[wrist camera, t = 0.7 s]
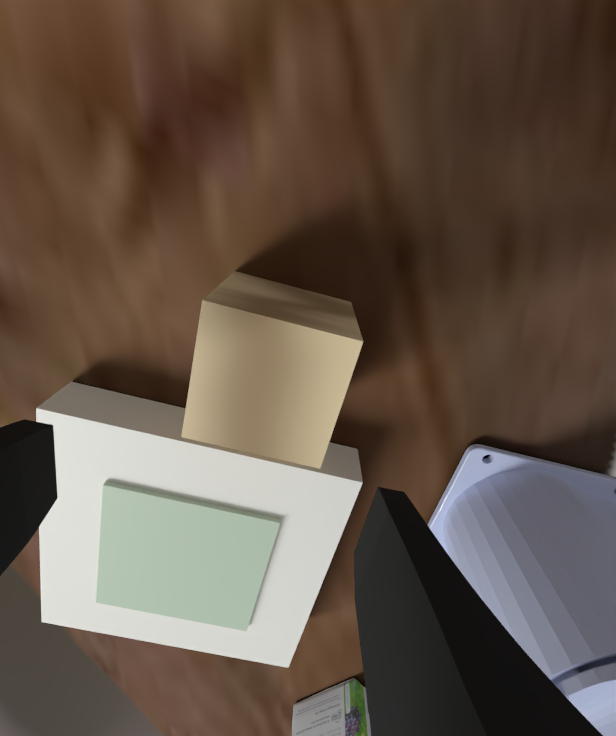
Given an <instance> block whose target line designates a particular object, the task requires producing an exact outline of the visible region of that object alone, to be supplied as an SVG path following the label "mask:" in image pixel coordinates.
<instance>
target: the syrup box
mask: <svg viewBox="0 0 616 736" xmlns="http://www.w3.org/2000/svg"><path fill="white" fill-rule="evenodd" d="M292 736H371V728H370V718H369V710H368V702H367V694H366V688H365V687H364V686H363V685H361V684H360V683H359V682H358V681H357V680H356V679H355V678H352V679H350V680H347V681H345V682H343V683H340V684H338V685H336V686H333V687H331V688H329V689H326V690H324V691H322V692H320V693H317V694H315V695H313V696H311V697H309V698H307V699H304V700H302V701H300V702H298V703H296V704H294V706H293V721H292Z"/></svg>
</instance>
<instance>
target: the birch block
mask: <svg viewBox="0 0 616 736" xmlns="http://www.w3.org/2000/svg"><path fill="white" fill-rule="evenodd" d="M362 344H363V339H362V335H361V332H360V329H359V326H358V323H357V319H356V316H355V313H354V310H353V306H352V303H351V302H349V301H346V300H342V299H338V298H334V297H331V296H327V295H323V294H319V293H316V292H312V291H308V290H304V289H301V288H297V287H293V286H289V285H286V284H282V283H278V282H274V281H270V280H267V279H263V278H259V277H255V276H252V275H248V274H244V273H240V272H237V271H234V272H233V273H232V274H231V275H230V276H229V277H228V278H226V279H225V280H224V281H223V282H222V283H221V284H220V285H219V286H218V287H216V288H215V289H214V290H213V291H212V292H211V293H210V294H209V295H207V296H206V297H205V298H204V299H203V300H202V306H201V312H200V319H199V325H198V332H197V338H196V345H195V351H194V358H193V364H192V371H191V377H190V384H189V390H188V397H187V403H186V410H185V416H184V423H183V429H182V436H181V437H183V438H187V439H192V440H196V441H200V442H205V443H209V444H214V445H218V446H222V447H227V448H231V449H235V450H240V451H244V452H249V453H253V454H257V455H262V456H266V457H270V458H275V459H279V460H284V461H288V462H292V463H297V464H301V465H305V466H310V467H314V468H319V469H320V468H321V465H322V462H323V459H324V456H325V453H326V450H327V447H328V444H329V441H330V439H331V436H332V433H333V430H334V427H335V424H336V421H337V418H338V415H339V412H340V409H341V406H342V403H343V400H344V397H345V394H346V391H347V389H348V386H349V383H350V380H351V377H352V374H353V371H354V368H355V365H356V362H357V359H358V356H359V353H360V350H361V347H362Z"/></svg>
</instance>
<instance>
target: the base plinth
mask: <svg viewBox="0 0 616 736" xmlns="http://www.w3.org/2000/svg"><path fill="white" fill-rule="evenodd" d="M185 410H186V408H182V407H177V406H173V405H169V404H165V403H160V402H156V401H152V400H148V399H143V398H139V397H135V396H131V395H126V394H122V393H118V392H114V391H109V390H105V389H101V388H97V387H92V386H88V385H84V384H80V383H75V382H70V383H69V384H68V385H66V386H65V387H64V388H62V389H61V390H60V391H58V392H57V393H56V394H54V395H53V396H52V397H50V398H49V399H48V400H46V401H45V402H44V403H42V404H41V405H40V406H38V407H37V408H36V422H40V423H45V424H51V425H53V431H54V447H55V464H56V481H57V497H58V498H57V500H56V501H55V503H54V504H53V506H52V507H51V509H50V511H49V512H48V514H47V515H46V517H45V518H44V520H43V522H42V523H41V524H40V526H39V538H40V576H41V614H42V622H45V623H50V624H55V625H61V626H66V627H72V628H77V629H82V630H88V631H93V632H99V633H104V634H109V635H115V636H120V637H125V638H131V639H136V640H142V641H147V642H152V643H158V644H163V645H169V646H174V647H179V648H185V649H190V650H196V651H201V652H206V653H212V654H217V655H223V656H228V657H233V658H239V659H244V660H250V661H255V662H260V663H266V664H271V665H277V666H282V667H287V668H288V667H289V665H290V662H291V660H292V657H293V655H294V652H295V650H296V647H297V645H298V642H299V640H300V637H301V635H302V632H303V630H304V627H305V625H306V622H307V620H308V617H309V615H310V613H311V610H312V608H313V605H314V603H315V600H316V598H317V595H318V593H319V590H320V588H321V585H322V583H323V580H324V578H325V575H326V573H327V570H328V568H329V565H330V563H331V560H332V558H333V555H334V553H335V550H336V548H337V545H338V543H339V540H340V538H341V536H342V533H343V531H344V528H345V526H346V523H347V521H348V518H349V516H350V513H351V511H352V508H353V506H354V503H355V501H356V498H357V496H358V493H359V491H360V488H361V486H362V483H363V481H362V474H361V468H360V461H359V455H358V449H356V448H352V447H348V446H343V445H339V444H335V443H331V442H329V444H328V447H327V450H326V453H325V456H324V459H323V462H322V465H321V468H320V469H319V468H314V467H310V466H305V465H301V464H297V463H292V462H288V461H284V460H279V459H275V458H270V457H266V456H262V455H257V454H253V453H249V452H244V451H240V450H235V449H231V448H227V447H222V446H218V445H214V444H209V443H205V442H200V441H196V440H192V439H187V438H183V437H181V436H182V429H183V423H184V416H185Z"/></svg>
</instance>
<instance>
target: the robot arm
mask: <svg viewBox="0 0 616 736" xmlns="http://www.w3.org/2000/svg"><path fill="white" fill-rule="evenodd" d="M486 455H490V456H489V457H488V458H486V459H483V457H484V456H486ZM57 498H58V497H57V481H56V464H55V447H54V431H53V425H51V424H45V423H40V422H35V421H30V420H21V421H18V422H15V423H12V424H9V425H6V426H3V427H1V428H0V576H1V574H2V573H3V572H4V571H5V570H6V568H7V567H8V566H9V565H10V564H11V563H12V561H13V560H14V559H15V558H16V557H17V555H18V554H19V553H20V552H21V551H22V549H23V548H24V547H25V546H26V544H27V543H28V542H29V540H30V539H31V538H32V536H33V535H34V533H35V532H36V530H37V529H38V527H39V526H40V524H41V523H42V522H43V520H44V518H45V517H46V515H47V514H48V512H49V511H50V509H51V507H52V506H53V504H54V503H55V501H56V500H57ZM354 579H355V604H356V613H357V621H358V630H359V638H360V646H361V654H362V662H363V670H364V678H365V686H366V694H367V702H368V710H369V718H370V728H371V736H616V477H613V476H608V475H604V474H600V473H596V472H592V471H588V470H584V469H580V468H575V467H571V466H567V465H563V464H559V463H555V462H551V461H547V460H542V459H538V458H534V457H530V456H526V455H522V454H518V453H514V452H509V451H505V450H501V449H497V448H493V447H489V446H485V445H481V444H474V445H471V446H470V447H468V448H467V449H466V451H465V453H464V455H463V457H462V459H461V461H460V463H459V465H458V466H457V468H456V470H455V472H454V474H453V476H452V478H451V480H450V482H449V484H448V486H447V488H446V490H445V492H444V494H443V496H442V497H441V499H440V501H439V503H438V505H437V507H436V509H435V511H434V513H433V515H432V517H431V519H430V521H429V523H428V525H427V524H426V523H425V521H424V520H423V518H422V517H421V515H420V514H419V512H418V511H417V510H416V508H415V507H414V505H413V504H412V502H411V501H410V500H409V498H408V497H407V495H406V494H405V493H404V492H401V491H396V490H391V489H386V488H380V487H378V488H377V491H376V493H375V496H374V499H373V502H372V504H371V507H370V510H369V513H368V515H367V518H366V521H365V524H364V527H363V529H362V532H361V535H360V538H359V540H358V543H357V546H356V549H355V551H354Z"/></svg>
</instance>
